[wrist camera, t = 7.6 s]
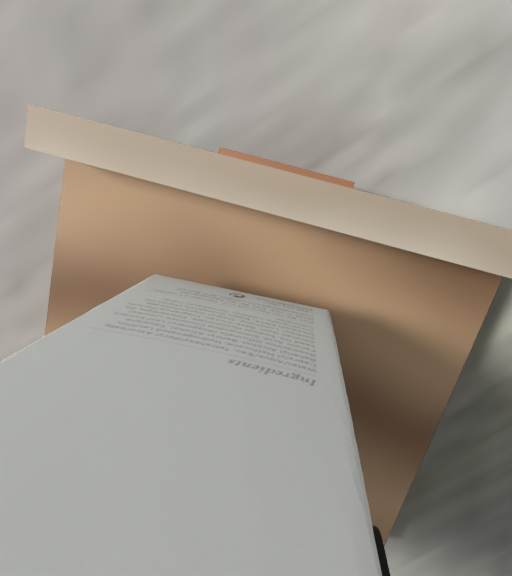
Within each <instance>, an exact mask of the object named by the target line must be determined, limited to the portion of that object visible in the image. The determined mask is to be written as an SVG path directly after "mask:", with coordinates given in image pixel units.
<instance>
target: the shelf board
mask: <svg viewBox="0 0 512 576" xmlns="http://www.w3.org/2000/svg"><path fill="white" fill-rule="evenodd" d="M24 147H25V148H29V149H32V150H36V151H40V152H43V153H47V154H51V155H55V156H58V157H62V158H65V165H64V174H63V183H62V191H61V200H60V209H59V217H58V226H57V235H56V243H55V252H54V261H53V270H52V278H51V287H50V296H49V304H48V313H47V322H46V330H45V336H46V335H48V334H50V333H51V332H53V331H55V330H57V329H58V328H60V327H62V326H64V325H65V324H67V323H69V322H71V321H73V320H74V319H76V318H78V317H80V316H82V315H83V314H85V313H87V312H88V311H90V310H91V309H93V308H95V307H97V306H99V305H101V304H102V303H104V302H106V301H108V300H110V299H111V298H113V297H115V296H117V295H118V294H120V293H122V292H124V291H126V290H127V289H129V288H131V287H133V286H134V285H136V284H138V283H140V282H142V281H144V280H145V279H147V278H149V277H150V276H152V275H155V274H157V275H162V276H166V277H171V278H176V279H181V280H186V281H191V282H196V283H200V284H205V285H210V286H215V287H220V288H225V289H230V290H235V291H239V292H244V293H249V294H254V295H258V296H263V297H268V298H273V299H278V300H282V301H287V302H292V303H297V304H301V305H306V306H311V307H316V308H321V309H327V310H328V311H329V312H330V316H331V320H332V325H333V330H334V335H335V338H336V343H337V348H338V353H339V359H340V364H341V368H342V374H343V378H344V382H345V388H346V394H347V397H348V402H349V407H350V412H351V417H352V422H353V428H354V435H355V439H356V444H357V448H358V453H359V459H360V464H361V468H362V473H363V478H364V485H365V491H366V496H367V500H368V505H369V510H370V516H371V521H372V525H373V526H376V527H377V528H378V529H379V530H380V533H381V536H382V540H383V545H385V543H386V541H387V539H388V536H389V534H390V532H391V530H392V527H393V525H394V523H395V521H396V518H397V516H398V514H399V511H400V509H401V507H402V505H403V502H404V500H405V498H406V496H407V493H408V491H409V489H410V486H411V484H412V482H413V480H414V477H415V475H416V473H417V471H418V468H419V466H420V464H421V462H422V459H423V457H424V455H425V452H426V450H427V448H428V446H429V443H430V441H431V439H432V437H433V434H434V432H435V430H436V427H437V425H438V423H439V421H440V418H441V416H442V414H443V412H444V409H445V407H446V405H447V402H448V400H449V398H450V396H451V393H452V391H453V389H454V387H455V384H456V382H457V380H458V378H459V375H460V373H461V371H462V368H463V366H464V364H465V362H466V359H467V357H468V355H469V353H470V350H471V348H472V346H473V343H474V341H475V339H476V337H477V334H478V332H479V330H480V328H481V325H482V323H483V321H484V318H485V316H486V314H487V312H488V309H489V307H490V305H491V303H492V300H493V298H494V296H495V294H496V291H497V289H498V287H499V284H500V282H501V280H502V278H503V276H504V277H508V278H511V279H512V230H509V229H505V228H501V227H498V226H494V225H490V224H486V223H482V222H478V221H475V220H471V219H467V218H463V217H459V216H455V215H452V214H448V213H444V212H440V211H436V210H433V209H429V208H425V207H421V206H417V205H413V204H410V203H406V202H402V201H398V200H394V199H390V198H387V197H383V196H379V195H375V194H371V193H368V192H364V191H360V190H356V189H353V187H354V184H355V182H351V181H347V180H343V179H340V178H336V177H332V176H328V175H324V174H320V173H316V172H313V171H309V170H305V169H301V168H297V167H293V166H290V165H286V164H282V163H278V162H274V161H270V160H267V159H263V158H259V157H255V156H251V155H247V154H243V153H240V152H236V151H232V150H228V149H224V148H220V147H219V151H218V153H215V152H211V151H207V150H203V149H199V148H195V147H192V146H188V145H184V144H180V143H176V142H172V141H169V140H165V139H161V138H157V137H153V136H149V135H146V134H142V133H138V132H134V131H130V130H127V129H123V128H119V127H115V126H111V125H107V124H104V123H100V122H96V121H92V120H88V119H84V118H81V117H77V116H73V115H69V114H65V113H61V112H58V111H54V110H50V109H46V108H42V107H39V106H35V105H31V104H28V107H27V119H26V130H25V142H24Z"/></svg>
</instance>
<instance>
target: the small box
mask: <svg viewBox="0 0 512 576" xmlns="http://www.w3.org/2000/svg"><path fill="white" fill-rule="evenodd" d="M0 576H382V573H381V568H380V563H379V558H378V553H377V548H376V543H375V538H374V533H373V527H372V521H371V516H370V510H369V505H368V500H367V496H366V491H365V485H364V478H363V473H362V468H361V464H360V459H359V453H358V448H357V444H356V439H355V435H354V428H353V422H352V417H351V412H350V407H349V402H348V397H347V394H346V388H345V382H344V378H343V374H342V368H341V364H340V359H339V353H338V348H337V343H336V338H335V335H334V330H333V325H332V320H331V316H330V312H329V311H328V310H327V309H321V308H316V307H311V306H306V305H301V304H297V303H292V302H287V301H282V300H278V299H273V298H268V297H263V296H258V295H254V294H249V293H244V292H239V291H235V290H230V289H225V288H220V287H215V286H210V285H205V284H200V283H196V282H191V281H186V280H181V279H176V278H171V277H166V276H162V275H157V274H155V275H152V276H150V277H149V278H147V279H145V280H144V281H142V282H140V283H138V284H136V285H134V286H133V287H131V288H129V289H127V290H126V291H124V292H122V293H120V294H118V295H117V296H115V297H113V298H111V299H110V300H108V301H106V302H104V303H102V304H101V305H99V306H97V307H95V308H93V309H91V310H90V311H88V312H87V313H85V314H83V315H82V316H80V317H78V318H76V319H74V320H73V321H71V322H69V323H67V324H65V325H64V326H62V327H60V328H58V329H57V330H55V331H53V332H51V333H50V334H48V335H46V336H44V337H42V338H40V339H39V340H37V341H35V342H33V343H32V344H30V345H28V346H26V347H25V348H23V349H21V350H20V351H18V352H16V353H14V354H13V355H11V356H9V357H7V358H6V359H4V360H2V361H0Z"/></svg>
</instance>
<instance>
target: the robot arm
mask: <svg viewBox="0 0 512 576" xmlns="http://www.w3.org/2000/svg"><path fill="white" fill-rule="evenodd" d="M372 527H373V533H374V538H375V543H376V548H377V553H378V558H379V563H380V568H381V573H382V576H390V573H389V568H388V563H387V559H386V554H385V550H384V545H383V540H382V536H381V533H380V530H379V529H378V528H377V527H376V526H373V525H372Z"/></svg>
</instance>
